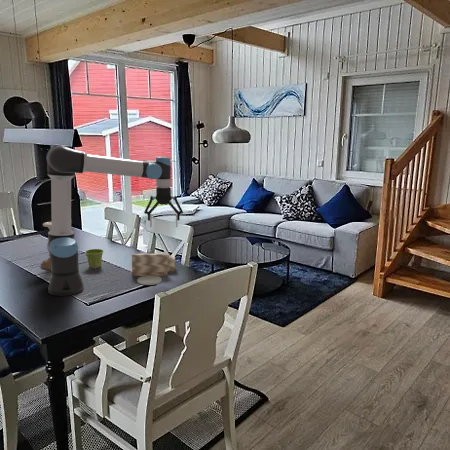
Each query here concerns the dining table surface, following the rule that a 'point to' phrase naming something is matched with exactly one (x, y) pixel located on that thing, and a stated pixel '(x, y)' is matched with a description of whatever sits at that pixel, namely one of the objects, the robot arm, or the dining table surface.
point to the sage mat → (149, 280)
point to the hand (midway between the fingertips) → (163, 226)
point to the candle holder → (47, 263)
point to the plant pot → (94, 257)
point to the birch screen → (149, 264)
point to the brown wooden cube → (171, 263)
